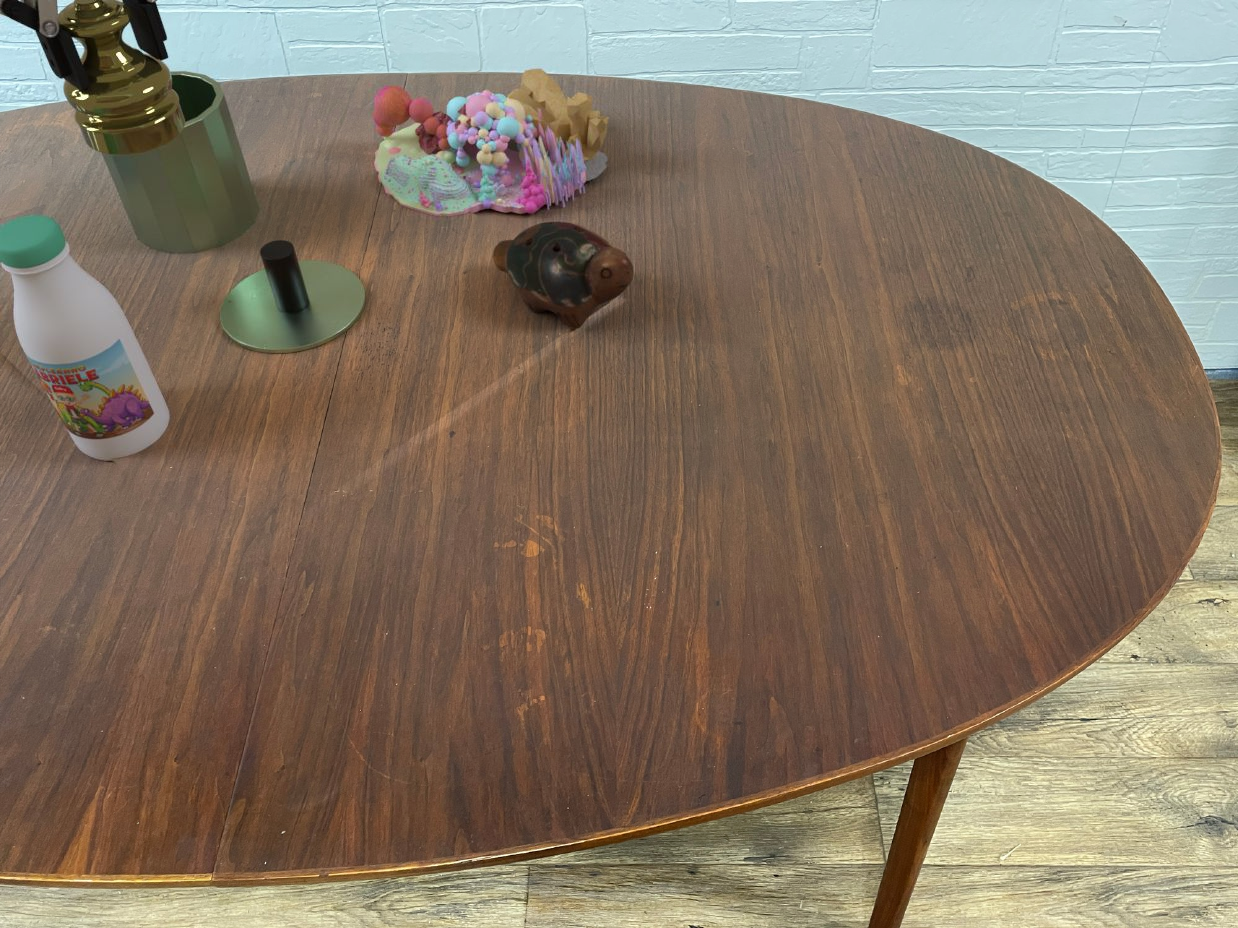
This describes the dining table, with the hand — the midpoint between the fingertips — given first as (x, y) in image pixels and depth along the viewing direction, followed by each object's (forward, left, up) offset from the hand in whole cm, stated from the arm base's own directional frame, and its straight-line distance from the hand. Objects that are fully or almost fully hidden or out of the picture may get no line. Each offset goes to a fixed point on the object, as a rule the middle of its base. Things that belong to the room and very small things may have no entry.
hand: (115, 66), depth 75 cm
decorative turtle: (+26, -18, -27) cm, 42 cm away
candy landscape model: (+38, +5, -27) cm, 47 cm away
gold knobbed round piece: (0, 0, -5) cm, 5 cm away
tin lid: (+8, 0, -26) cm, 28 cm away
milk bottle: (-11, -3, -27) cm, 30 cm away
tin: (+10, +20, -27) cm, 35 cm away
